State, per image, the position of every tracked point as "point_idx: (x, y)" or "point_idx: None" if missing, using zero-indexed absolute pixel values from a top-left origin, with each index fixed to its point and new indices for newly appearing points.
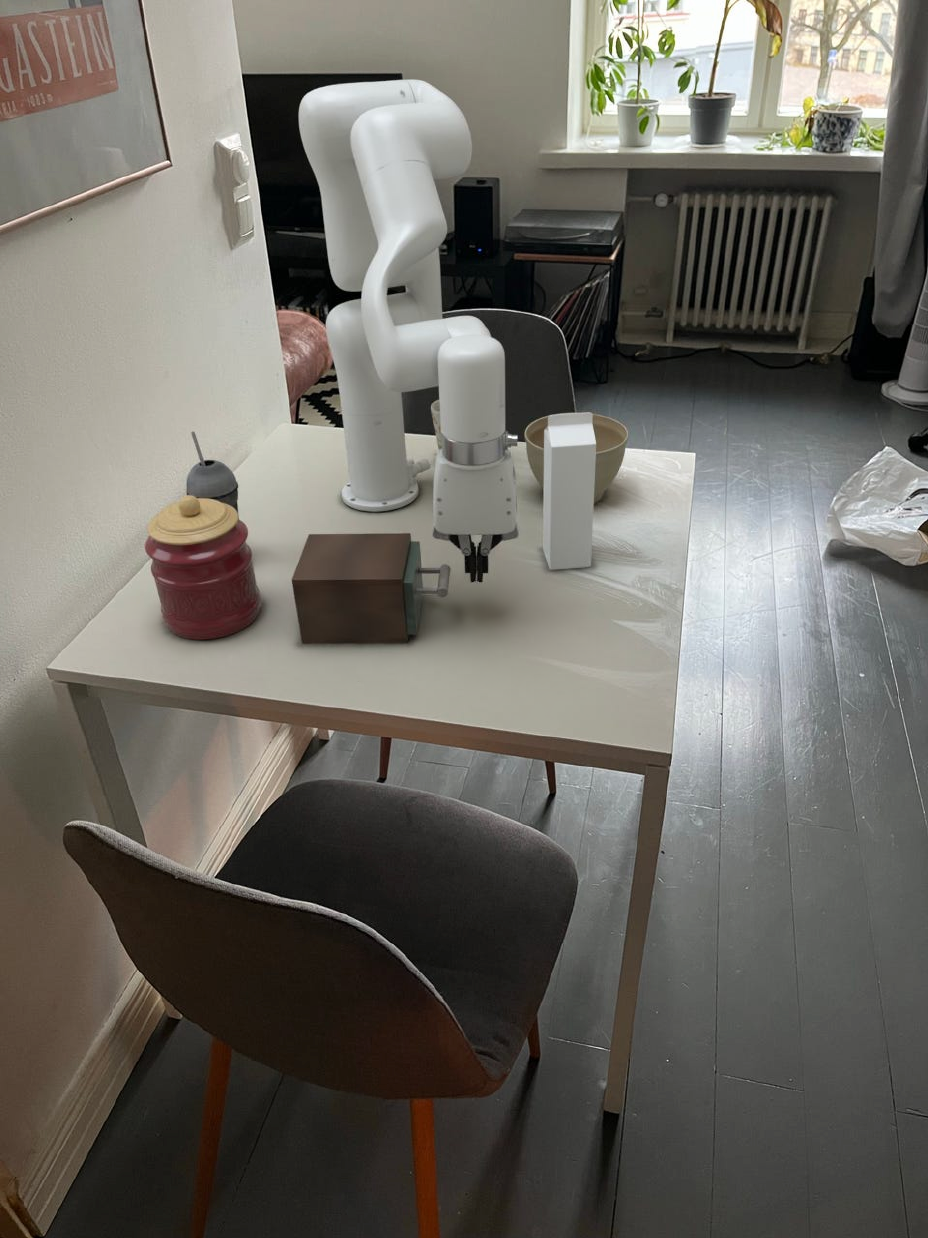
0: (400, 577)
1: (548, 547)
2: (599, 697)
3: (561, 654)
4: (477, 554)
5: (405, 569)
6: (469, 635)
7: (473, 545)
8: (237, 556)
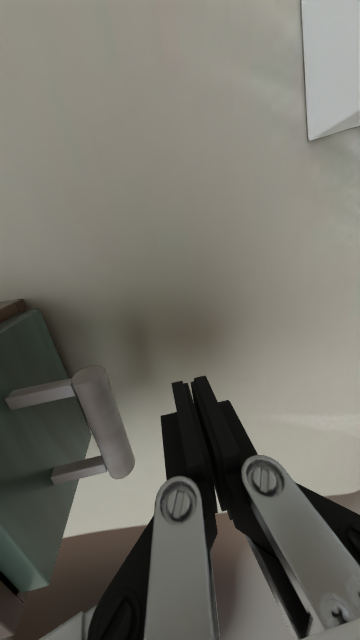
0: (6, 634)
1: (355, 78)
2: (330, 454)
3: (300, 402)
4: (224, 504)
5: None
6: (172, 395)
7: (213, 516)
8: None
